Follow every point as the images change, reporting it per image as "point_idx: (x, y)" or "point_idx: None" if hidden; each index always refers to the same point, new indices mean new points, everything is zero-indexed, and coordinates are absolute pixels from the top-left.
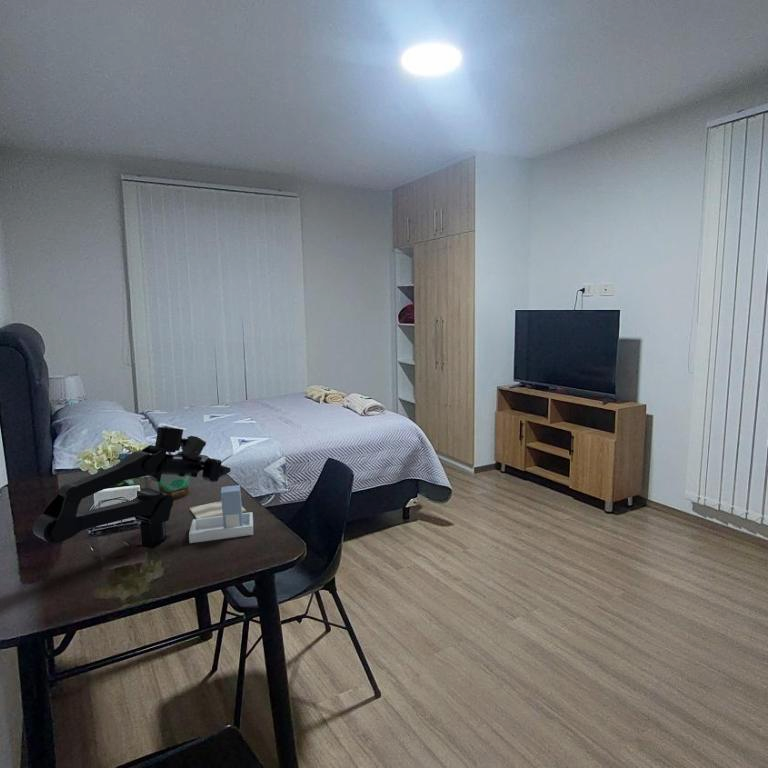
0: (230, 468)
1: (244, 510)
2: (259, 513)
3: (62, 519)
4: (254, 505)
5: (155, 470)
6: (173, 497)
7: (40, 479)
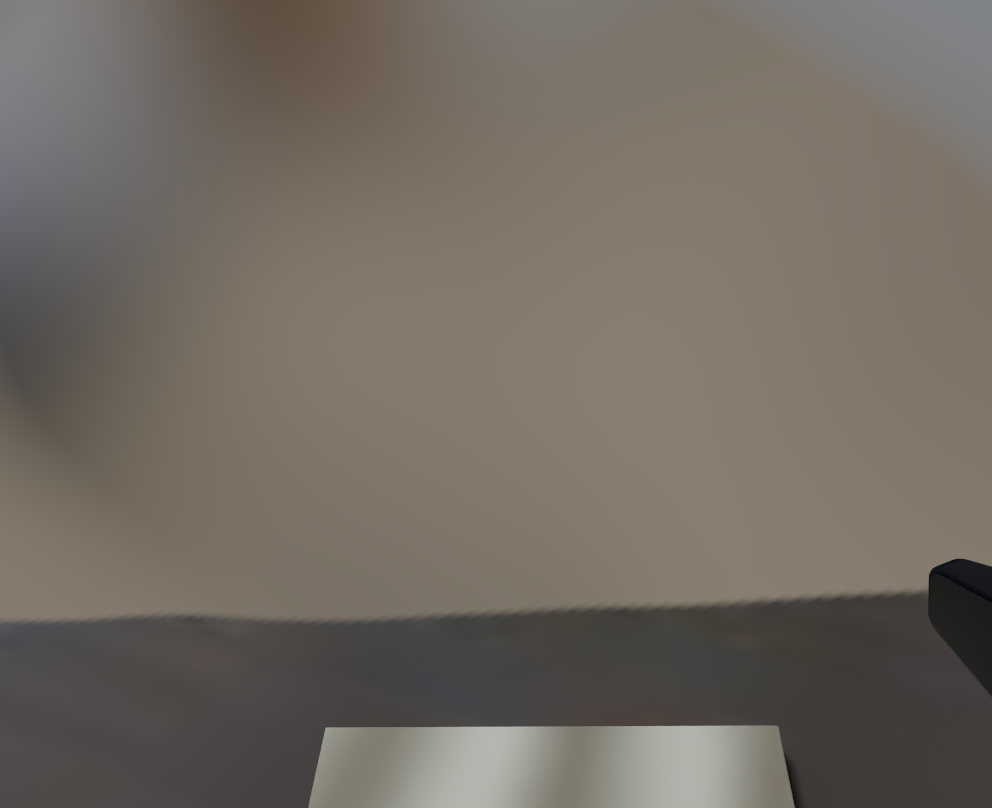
0: (964, 561)
1: (757, 742)
2: (815, 639)
3: None
4: (581, 618)
5: None
6: None
7: None
